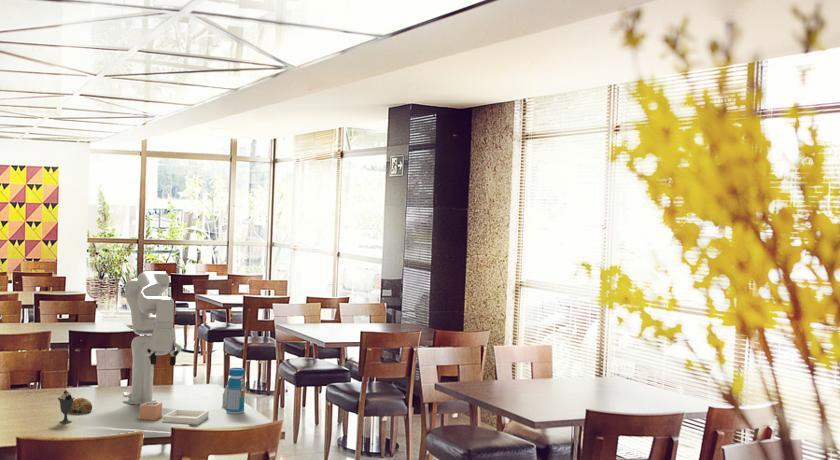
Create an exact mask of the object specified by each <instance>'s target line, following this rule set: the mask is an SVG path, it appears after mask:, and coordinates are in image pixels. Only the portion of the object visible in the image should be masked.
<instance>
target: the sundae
mask: <svg viewBox="0 0 840 460" xmlns="http://www.w3.org/2000/svg"><path fill="white" fill-rule="evenodd" d="M62 387H63V388H64V391H63V393H62V395H61V396H60V397H57V401H58V402H59V407H60V412H61V413H62V414H63V416H64V417H63V420H61V421H59V422H58V423H59V424H63V425H64V424H65V425H66V424H72V420H69V419H68V414H70V413H69V412H70V411H71V409H72V404H73V400H75V399H76V397H74V396H72V394H71V393H70V392H69V391H68V390H66V387H65V385H64V386H62Z"/></svg>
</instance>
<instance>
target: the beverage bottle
mask: <svg viewBox="0 0 840 460" xmlns="http://www.w3.org/2000/svg"><path fill="white" fill-rule="evenodd" d="M228 375H229V378H228V380H227V382H226V384H227V386H228V387H227V402H226V408H225V412H226V413H227V414H232V415H233V414H237V415H238V414H242V413H244V412H245V400H246V397H245V396H246V381H245V378H244V376H245V368H244V367H243V368H242V367H231V368H229V373H228Z"/></svg>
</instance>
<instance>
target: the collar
mask: <svg viewBox="0 0 840 460" xmlns="http://www.w3.org/2000/svg"><path fill="white" fill-rule="evenodd" d="M148 403H149V402H145V403H143V404H141V405H139V416H138V417H139V419H147V420H146V421H148V420H156V419H158V418H160V417H161V416H163V413H162V412H163V402H159V401H158V402H156V401H155V402H154V405H148Z"/></svg>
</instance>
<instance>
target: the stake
mask: <svg viewBox="0 0 840 460" xmlns="http://www.w3.org/2000/svg"><path fill="white" fill-rule="evenodd" d="M148 405H154V402H149V403H148ZM162 416H163V415H162ZM162 416H161V417H160V418H158V419H156V420H147V419H139V416H137V418H135V419H134V420H135V421H150V422H151V421H152V422H159V421H160V420H162Z"/></svg>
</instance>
